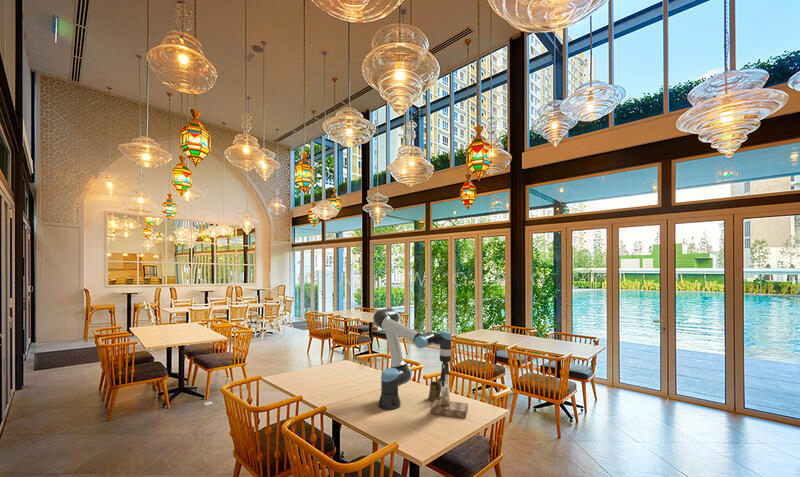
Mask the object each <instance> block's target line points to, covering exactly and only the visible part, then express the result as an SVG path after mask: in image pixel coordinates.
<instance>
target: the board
mask: <svg viewBox="0 0 800 477" xmlns="http://www.w3.org/2000/svg"><path fill="white" fill-rule="evenodd" d="M430 407H431V415H438V416H447V417H455V418H462V419H466V418H467V414H468V410H469V404H468V402H459V401H452V400H450V406H448V407H447V406H442V405H441V400H435V401H433V403H432V405H431V406H430Z"/></svg>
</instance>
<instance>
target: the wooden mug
mask: <svg viewBox="0 0 800 477" xmlns="http://www.w3.org/2000/svg"><path fill="white" fill-rule="evenodd" d="M440 379H441V377H439V378H438V379H437V380H436V381H431V382H430V383H429V393H428V398H427V399H428V400H430V401H433V402H434V401H435V400H441V381H440Z"/></svg>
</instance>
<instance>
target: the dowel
mask: <svg viewBox="0 0 800 477" xmlns="http://www.w3.org/2000/svg"><path fill="white" fill-rule="evenodd" d="M450 391H451V388H450V386H449V385H445V391H441V392H440V395H441V405H442V406H447V407H448V406H450V401H451V400H450V395H451V394H450V393H451V392H450Z"/></svg>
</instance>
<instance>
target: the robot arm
mask: <svg viewBox="0 0 800 477" xmlns="http://www.w3.org/2000/svg"><path fill="white" fill-rule="evenodd" d="M399 319H400V314H399V312H398V311H397V309H395V308H391V307H389V308H384V309H378V310H376V312H375V313H374V315H373V317H372V320H373V323H374V325H376V326H377V327H379V328H380V329H382V330H384V332H385V336H386V340H387V345H388V350H389V355H390V359H391V366H390V367H388V368H385V369H383V370H382V372H381V375H380V380H381V381H380V382H381V384H380V389H381V390H380V391H381V392H380V397H379V399H378V403H377V404H378V405H377V406H378V407H379V408H380V409H383V410H388V411H389V410H396V409H399V408H400V407H401V398H400V395H399V387H400V386H402V385H404V384H407V383H408V382H409V381H410V380H411V379H412V369H411V367H409V366H408V365H407V362H406V361H405V360H404V356H403V352H402V346H401V342H400V338H399V337H402V338H403V339H404V340H407V341H409V342H410V343H413V344H414V345H415V346H416V348H417V349H424V348H426V347H429V346H431V345H437V346H439V361H440V362H442V363H441V373H440V378H441V379H440V381H441V391H445V386H449V375H450V374H451V372H450V370H449V369H450V368H449V367H450V366H449V365H450V362H451V361H452V352H453V350H452V339H453V338H452V332H451V331H449V330H441V331H440V332H432V331H425V332H424V333H420V332H418V331H416V330H414V329H412V328H410V327H408V326H406V325H404V324H402V323H400V322H399Z"/></svg>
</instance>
